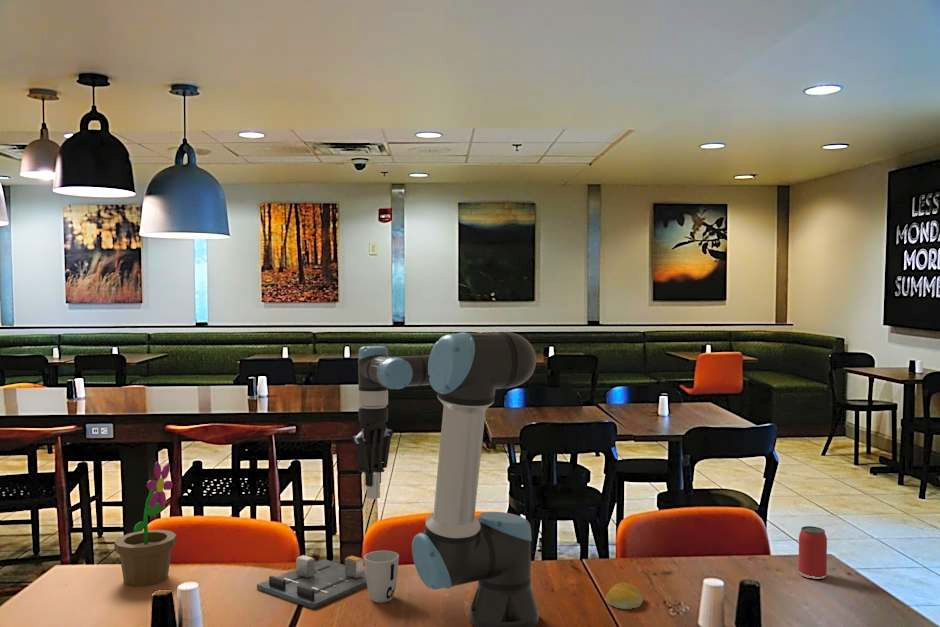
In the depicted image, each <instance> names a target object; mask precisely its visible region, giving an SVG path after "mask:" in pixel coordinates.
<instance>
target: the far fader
mask: <svg viewBox="0 0 940 627" xmlns="http://www.w3.org/2000/svg"><path fill="white" fill-rule="evenodd" d="M295 561H296V562H295V563H296V564H295V566H296V567H295V568H296V569H295V570H296V574H297V575H300V576H303V577H306V578H308V577H311V576H313V575H315V564H314V563H315V558H313V557H311V556H309V555H304V554H302V555H300V556H298V557H297V558H296V560H295Z"/></svg>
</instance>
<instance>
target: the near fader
mask: <svg viewBox="0 0 940 627" xmlns="http://www.w3.org/2000/svg"><path fill="white" fill-rule="evenodd" d="M344 565H345V575H347V576H350V577H354V578H358V577H361V576H363V571H364V559H363V558H362V557H359V556H358V557H357V556H355V555H349V556H347V557H345V558H344Z"/></svg>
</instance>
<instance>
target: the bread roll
mask: <svg viewBox="0 0 940 627" xmlns="http://www.w3.org/2000/svg"><path fill="white" fill-rule="evenodd" d="M605 602H606V603H607V605H609V606H611V607H613V606H614V607H613V608H616V609H619V608H620V610H633V609H632V608H634V609H638V608H640V607H641V606H642V604H643V602H644V596H643V593H642V592H641V590H640V589H639V588H638V587H637V586H636V585H634V584H631V583H627V582H619V583H616V584H614V585H613V586H612V587H610V588H609V590H608V593H607V594H606V595H605Z"/></svg>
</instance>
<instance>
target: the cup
mask: <svg viewBox="0 0 940 627" xmlns="http://www.w3.org/2000/svg"><path fill="white" fill-rule="evenodd" d="M363 558H364V559H363V561H364V571H365V575H366V581H367V586H366V587H367V590H368V595H369V597H370V600H371V601H372V602H374V603H387V602H390V601H392V600H393V598H394V595H395V591H396V587H397V583H398V582H397V581H398V577H399V576H398V574H399V562H400V561H399V560H400V559H399V558H400V554H399V553H397V552H396V551H393V550H375V551H371V552H370V551H369V552H368V553H366V554H365V555H364V556H363Z"/></svg>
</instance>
